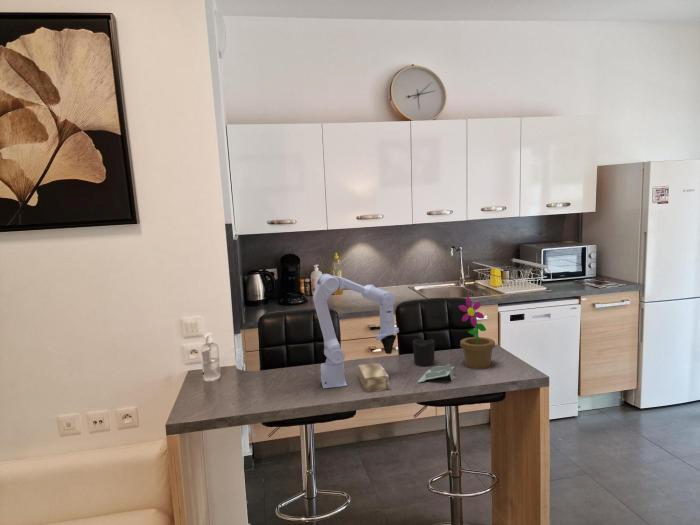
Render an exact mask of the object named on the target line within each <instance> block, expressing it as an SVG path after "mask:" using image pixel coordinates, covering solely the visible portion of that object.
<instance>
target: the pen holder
mask: <svg viewBox="0 0 700 525" xmlns="http://www.w3.org/2000/svg"><path fill="white" fill-rule="evenodd" d="M412 348H413V349H412V350H413V361H414V362H413V363H414V364H415V365H416V366H418V365H420V366H419V367H429V366H432V365H434V364H435V340H434V339H431V338H430V339H426V340H425V339H422V338H415V339H413V340H412Z"/></svg>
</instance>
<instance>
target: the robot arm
mask: <svg viewBox="0 0 700 525" xmlns="http://www.w3.org/2000/svg"><path fill="white" fill-rule="evenodd" d="M342 289H347V290H350V291H353V292H355V293H358V294H361V296H362V298H363V299H366V300H368V301H371V302H373V303H376V304H378V305H379V325H380V326H379V328H380V329H379V330H380V331H379V333H378V334H376V335H375V341H380V343H382V346H383V349H384V353H385V354H387V355H390V354H392V351H393V347H394V343H395V341H396V340H397V333H398V334H399V332H400V330H399V329H400V328H399V327H395V312H394V306H395V303H396V298H395V296H394V294H393V293H391V292H388V291H386V290H385V289H383V288H378V287H375V285H374V284H366V285H361V284H358V283H356V282H355V281H352V280H350V279H347V278H346V277H343V276H338V275H334V274H333V275H331V274H330V273H323V274H321V275H320V276H319V277H318V279H317V280H316V282H315V288H314V292H313V296H312V301H313V304H314V310H315V312H316V315H317V319H318V322H319V327H320V330H321V334H322V337H323V347H324V348H323V354H324V356H325V357H326V359H325V362H322V363H320V383H321V385H322V388H323V389H330V388H340V387H341V388H342V387H347V386H348V384H347V381H346V379H345V363H344V360H345V357H346V354H345V352H344V350H343V349H342V348H341V345H340V343H339V340H338V338H337V335H336V332H335V328H334V325H333V320H332V317H331V313H330V309H329V306H328V302H327V301H328V300H329V298H330V297H331V296H332V295H333V294H335V292H337V290H342Z"/></svg>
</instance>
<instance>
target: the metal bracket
mask: <svg viewBox="0 0 700 525" xmlns="http://www.w3.org/2000/svg"><path fill="white" fill-rule="evenodd" d="M454 368H455V366H451V364H450V363H448V364H446V365H437V366H433V367H430V369H428V370H426V372H425V373H424V374H423V375H422V376H421V377H420V378H419V379H418V380H417V381H418V382H417V381H416V383H418V384H419V383H423V382H425V381H427V380H434V379H438V378H443V377H448V376H450V380H451V381H452V380H453V381H454V380H455V379H457V378H456V376H454V370H453V369H454Z"/></svg>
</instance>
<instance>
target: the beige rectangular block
mask: <svg viewBox="0 0 700 525" xmlns="http://www.w3.org/2000/svg"><path fill="white" fill-rule="evenodd" d="M378 364H379V363H376V362H375V363H366V364H358V365H357V366H358V380H359V381H360V383H361V385H362V387H363V389H364V391H365V392H366V393H371V392H379V391H387V390H390V380H391V377H390V376H389V374H388V372H387V371H386V370H385V369H384V370H382V369H381V368H380V366H379V365H378Z"/></svg>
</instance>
